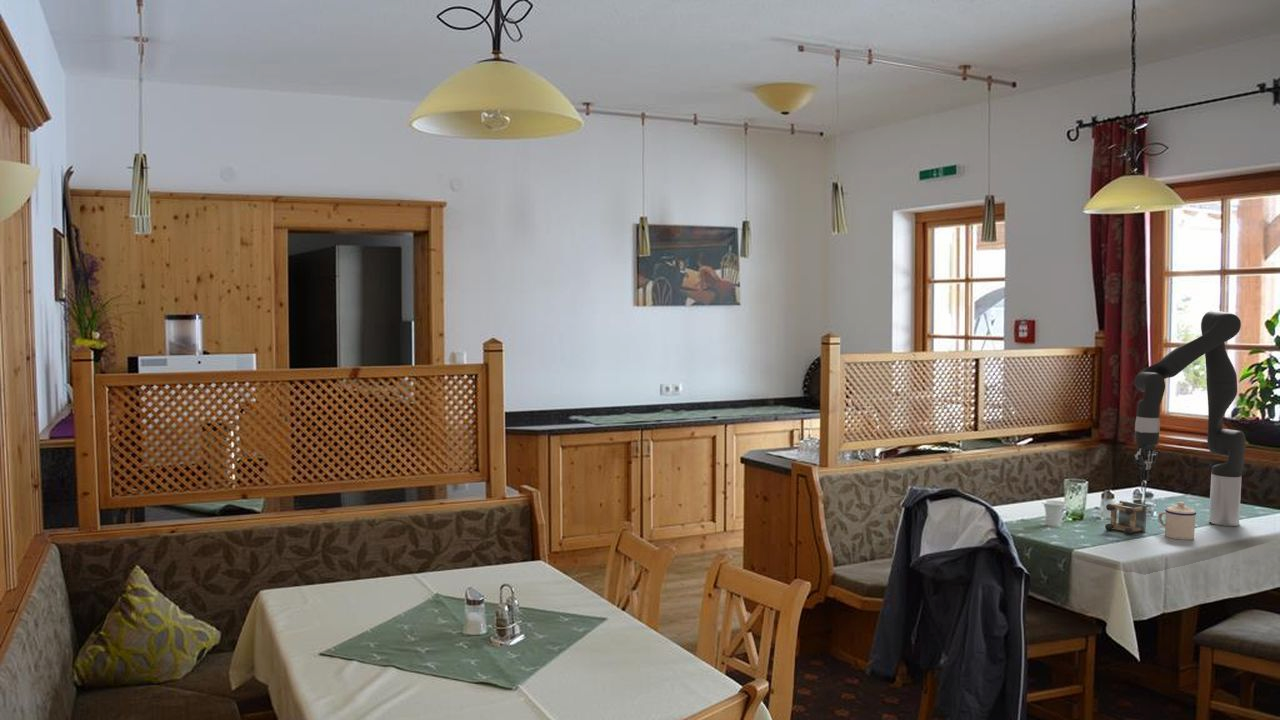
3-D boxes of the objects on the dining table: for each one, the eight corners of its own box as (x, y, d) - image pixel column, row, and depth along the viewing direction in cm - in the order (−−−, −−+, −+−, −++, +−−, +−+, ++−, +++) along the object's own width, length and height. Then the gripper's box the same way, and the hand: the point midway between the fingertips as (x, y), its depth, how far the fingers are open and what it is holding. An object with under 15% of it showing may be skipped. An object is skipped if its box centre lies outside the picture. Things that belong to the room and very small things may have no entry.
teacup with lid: (1200, 538, 338) (1202, 503, 337) (1184, 541, 333) (1186, 506, 332) (1165, 530, 348) (1167, 496, 347) (1150, 533, 343) (1151, 499, 343)
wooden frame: (1119, 526, 354) (1121, 500, 353) (1145, 531, 346) (1146, 505, 346) (1105, 529, 348) (1106, 503, 348) (1130, 535, 341) (1131, 508, 340)
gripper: (1146, 427, 358) (1143, 476, 359) (1126, 430, 350) (1123, 480, 351) (1168, 430, 352) (1165, 480, 353) (1147, 432, 344) (1145, 483, 345)
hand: (1144, 480), depth 352 cm, fingers closed
